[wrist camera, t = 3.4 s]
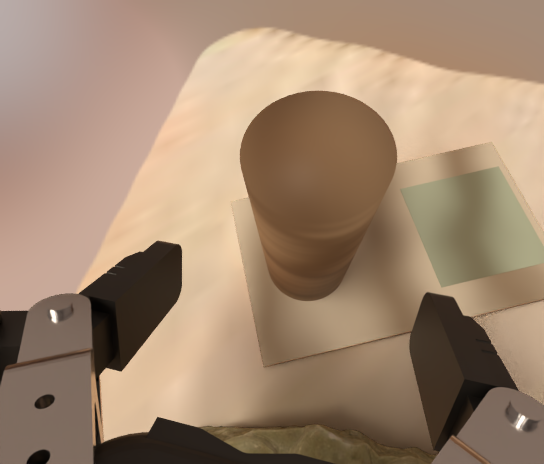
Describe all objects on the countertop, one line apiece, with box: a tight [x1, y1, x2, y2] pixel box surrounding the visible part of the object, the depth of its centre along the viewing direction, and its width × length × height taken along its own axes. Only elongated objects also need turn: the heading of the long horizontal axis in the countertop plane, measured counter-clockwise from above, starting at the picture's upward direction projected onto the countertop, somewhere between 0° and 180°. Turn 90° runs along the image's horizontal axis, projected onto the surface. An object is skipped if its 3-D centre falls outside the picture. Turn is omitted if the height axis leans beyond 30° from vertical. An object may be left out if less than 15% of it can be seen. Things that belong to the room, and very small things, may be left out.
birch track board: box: [231, 142, 544, 367], centre depth 23 cm, size 19×11×1 cm, turn 103°
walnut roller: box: [240, 91, 397, 301], centre depth 17 cm, size 5×5×12 cm
